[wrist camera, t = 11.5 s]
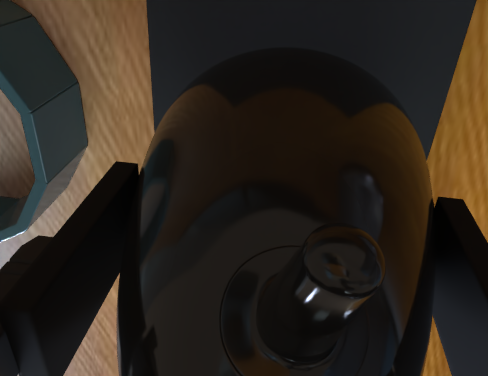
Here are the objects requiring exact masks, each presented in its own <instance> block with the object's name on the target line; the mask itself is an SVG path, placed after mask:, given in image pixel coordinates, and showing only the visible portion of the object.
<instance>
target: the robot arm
mask: <svg viewBox="0 0 488 376" xmlns="http://www.w3.org/2000/svg"><path fill="white" fill-rule="evenodd" d="M138 177H139V172H138V164H135V163H126V162H117V161H116V162H115V163H114V164H113V166H112V167H111V168H110V169H109V170H108V172H107V173H106V174H105V175H104V177H103V178H102V179H101V180H100V181H99V183H98V184H97V185H96V186H95V187H94V189H93V190H92V191H91V192H90V194H89V195H88V196H87V197H86V198H85V200H84V201H83V202H82V203H81V204H80V206H79V207H78V208H77V209H76V210H75V212H74V213H73V214H72V215H71V217H70V218H69V219H68V220H67V221H66V223H65V224H64V225H63V226H62V227H61V229H60V230H59V231H58V232H57V233H56V235H55V236H54V237H47V236H37V237H35V238H34V239H32V240H30V241H29V242H27V243H25V244H24V245H22V246H21V247H20V248H19V249H18V250H17V251H16V253H15V254H14V255H13V256H12V257H11V258H10V261H9V262H7V263H6V264H5V265H4V266H3V267H2V268H1V269H0V376H17V375H18V373H19V376H63V375H64V373H65V371H66V369H67V368H68V366H69V364H70V362H71V360H72V359H73V357H74V355H75V353H76V351H77V349H78V348H79V346H80V344H81V342H82V340H83V338H84V337H85V335H86V333H87V331H88V329H89V328H90V326H91V324H92V322H93V320H94V318H95V317H96V315H97V313H98V311H99V309H100V307H101V306H102V304H103V302H104V300H105V298H106V297H107V295H108V293H109V291H110V289H111V287H112V286H113V284H114V282H115V280H116V278H117V276H118V275H119V273H120V270H121V262H122V255H123V248H124V242H125V235H126V229H127V224H128V218H129V213H130V208H131V204H132V199H133V195H134V191H135V187H136V184H137V181H138ZM434 211H435V223H436V271H435V289H434V302H433V313H432V315H433V318H434V321H435V324H436V327H437V330H438V334H439V337H440V340H441V343H442V346H443V349H444V352H445V355H446V359H447V362H448V365H449V368H450V371H451V374H452V376H488V243H487V241H486V239H485V237H484V236H483V234H482V232H481V230H480V229H479V227H478V225H477V223H476V222H475V220H474V218H473V216H472V214H471V213H470V211H469V209H468V207H467V206H466V204H465V202H464V200H463V199H454V198H445V197H438V199H437V202H436V205H435V208H434Z"/></svg>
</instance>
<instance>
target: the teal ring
mask: <svg viewBox="0 0 488 376" xmlns="http://www.w3.org/2000/svg"><path fill="white" fill-rule="evenodd" d="M0 89H1V90H2V91H3V93H4V94H5V95H6V97H7V98H8V99H9V101H10V102H11V103H12V104H13V106H14V107H15V108H16V110H17V111H18V112H19V113H20V115H21V120H22V124H23V128H24V132H25V137H26V141H27V145H28V149H29V154H30V158H31V162H32V166H33V171H34V175H35V179H36V180H35V182H34V184H33V187H32V189H31V191H30V193H29V195H27V196H25V197H22V198H20V199H18V198H10V197H1V196H0V242H2V241H4V240H6V239H9V238H11V237H14V236H16V235H19V234H21V233H23V232H26V231H27V230H28V229H29V227H30V226H31V225H32V224H33V223H34V222H35V221H36V220H37V219H38V218H39V217H40V216H41V215H42V214H43V212H44V211H45V210H46V209H47V208H48V207H49V206H50V205H51V204H52V203H53V202H54V201H55V200H56V199H57V198H58V196H59V195H60V194H61V193H62V192H63V191H64V190H65V189H66V188H67V186H68V184H69V182H70V180H71V178H72V176H73V174H74V172H75V170H76V168H77V166H78V164H79V162H80V160H81V158H82V156H83V154H84V152H85V150H86V148H87V146H88V141H87V134H86V128H85V121H84V115H83V108H82V102H81V95H80V89H79V83H78V82H77V79H76V77H75V76H74V75H73V73H72V72H71V70H70V69H69V67H68V66H67V64H66V63H65V61H64V60H63V58H62V57H61V55H60V54H59V52H58V51H57V50H56V48H55V47H54V45H53V44H52V42H51V41H50V39H49V38H48V36H47V35H46V33H45V32H44V30H43V29H42V28H41V26H40V25H39V23H38V22H37V20H36V19H35V17H34V16H32V14H30V13H29V12H27V11H26V10H24V9H23V8H21V7H20V6H18V5H16V4H15V3H13V2H12V1H10V0H0Z"/></svg>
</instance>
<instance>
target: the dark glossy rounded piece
mask: <svg viewBox="0 0 488 376" xmlns="http://www.w3.org/2000/svg"><path fill="white" fill-rule="evenodd" d="M435 271H436V223H435V211H434V202H433V194H432V188H431V182H430V176H429V170H428V165H427V161H426V157H425V153H424V150H423V147H422V144H421V141H420V138H419V136H418V134H417V131H416V129H415V127H414V125H413V123H412V121H411V119H410V117H409V116H408V114H407V112H406V110H405V109H404V107H403V106H402V104H401V103H400V102H399V100H398V99H397V98H396V97H395V96H394V94H393V93H392V92H391V91H390V90H389V89H388V88H387V87H386V86H385V85H384V84H383V83H382V82H380V81H379V80H378V79H377V78H376V77H374V76H373V75H372V74H370V73H369V72H367V71H366V70H364V69H363V68H361V67H359V66H357V65H356V64H354V63H352V62H350V61H347V60H345V59H343V58H340V57H338V56H335V55H332V54H329V53H325V52H321V51H317V50H312V49H305V48H295V47H276V48H266V49H259V50H254V51H250V52H246V53H242V54H239V55H236V56H233V57H231V58H228V59H226V60H224V61H222V62H220V63H218V64H216V65H214V66H212V67H211V68H209V69H208V70H206V71H205V72H203V73H202V74H200V75H199V76H198V77H197V78H195V79H194V80H193V81H192V82H191V83H190V84H189V85H187V87H186V88H185V89H184V90H183V91H182V92H181V93H180V94H179V95H178V97H177V98H176V99H175V100H174V102H173V103H172V104H171V106H170V107H169V109H168V110H167V112H166V113H165V115H164V116H163V118H162V120H161V122H160V124H159V125H158V127H157V129H156V132H155V134H154V136H153V138H152V141H151V143H150V146H149V148H148V151H147V154H146V156H145V159H144V162H143V165H142V168H141V171H140V174H139V177H138V181H137V184H136V187H135V191H134V195H133V199H132V204H131V208H130V213H129V218H128V224H127V229H126V235H125V242H124V248H123V255H122V262H121V270H120V278H119V287H118V298H117V359H118V371H119V376H423V372H424V367H425V362H426V357H427V352H428V346H429V340H430V332H431V323H432V313H433V302H434V289H435Z"/></svg>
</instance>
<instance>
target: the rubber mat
mask: <svg viewBox="0 0 488 376" xmlns="http://www.w3.org/2000/svg"><path fill="white" fill-rule="evenodd" d="M476 1H477V0H146V2H147V18H148V34H149V50H150V66H151V82H152V98H153V114H154V130H155V132H156V129H157V127H158V125H159V124H160V122H161V120H162V118H163V116H164V115H165V113H166V112H167V110H168V109H169V107H170V106H171V104H172V103H173V102H174V100H175V99H176V98H177V97H178V95H179V94H180V93H181V92H182V91H183V90H184V89H185V88H186V87H187V85H189V84H190V83H191V82H192V81H193V80H194V79H195V78H197V77H198V76H199V75H200V74H202V73H203V72H205V71H206V70H208V69H209V68H211V67H212V66H214V65H216V64H218V63H220V62H222V61H224V60H226V59H228V58H231V57H233V56H236V55H239V54H242V53H246V52H250V51H254V50H259V49H266V48H276V47H295V48H305V49H312V50H317V51H321V52H325V53H329V54H332V55H335V56H338V57H340V58H343V59H345V60H347V61H350V62H352V63H354V64H356V65H357V66H359V67H361V68H363V69H364V70H366V71H367V72H369V73H370V74H372V75H373V76H374V77H376V78H377V79H378V80H379V81H380V82H382V83H383V84H384V85H385V86H386V87H387V88H388V89H389V90H390V91H391V92H392V93H393V94H394V96H395V97H396V98H397V99H398V100H399V102H400V103H401V104H402V106H403V107H404V109H405V110H406V112H407V114H408V116H409V117H410V119H411V121H412V123H413V125H414V127H415V129H416V131H417V134H418V136H419V138H420V141H421V144H422V147H423V150H424V153H425V157H426V161H427V158H428V155H429V152H430V148H431V145H432V142H433V139H434V135H435V132H436V129H437V126H438V123H439V119H440V116H441V113H442V110H443V107H444V103H445V100H446V97H447V94H448V90H449V87H450V84H451V81H452V78H453V74H454V71H455V68H456V65H457V62H458V58H459V55H460V52H461V49H462V45H463V42H464V39H465V36H466V33H467V29H468V26H469V23H470V20H471V17H472V13H473V10H474V7H475V4H476Z"/></svg>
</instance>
